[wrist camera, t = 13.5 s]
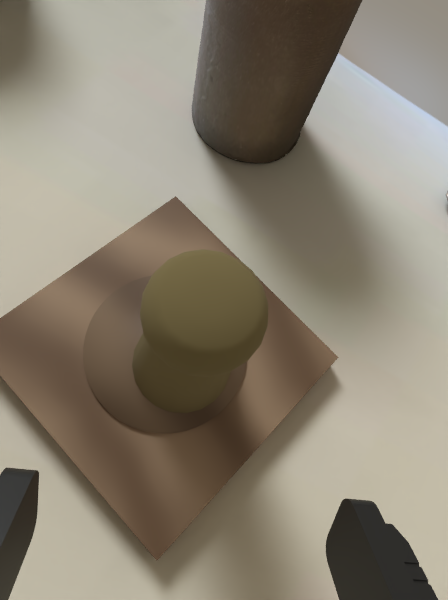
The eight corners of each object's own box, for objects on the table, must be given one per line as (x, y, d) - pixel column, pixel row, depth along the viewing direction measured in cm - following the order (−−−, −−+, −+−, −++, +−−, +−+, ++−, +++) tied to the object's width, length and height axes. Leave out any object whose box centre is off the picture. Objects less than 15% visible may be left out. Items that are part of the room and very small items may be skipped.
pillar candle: (320, 139, 37) (426, -57, 23) (234, 182, 33) (299, -20, 19) (254, 65, 39) (316, -155, 25) (166, 99, 35) (182, -137, 21)
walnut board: (155, 555, 23) (157, 561, 21) (-22, 346, 25) (-32, 338, 24) (328, 362, 29) (339, 356, 27) (174, 208, 31) (176, 194, 30)
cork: (250, 369, 26) (320, 310, 16) (175, 435, 24) (203, 415, 14) (188, 298, 27) (218, 200, 17) (111, 355, 25) (92, 281, 15)
